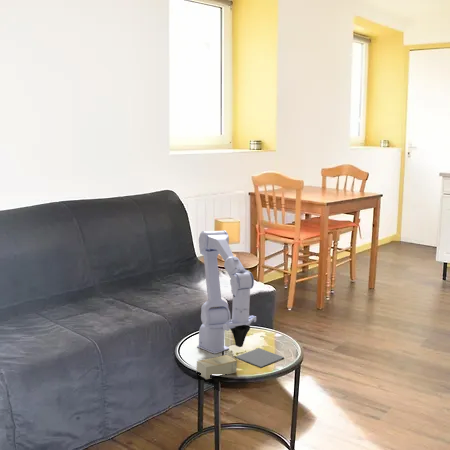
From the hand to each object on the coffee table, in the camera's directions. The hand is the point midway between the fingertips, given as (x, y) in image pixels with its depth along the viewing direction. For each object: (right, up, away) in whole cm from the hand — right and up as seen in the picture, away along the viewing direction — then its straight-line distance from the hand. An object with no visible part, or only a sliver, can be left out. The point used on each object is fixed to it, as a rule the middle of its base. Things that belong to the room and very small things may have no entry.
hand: (239, 346), depth 195 cm
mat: (+8, -7, +11) cm, 15 cm away
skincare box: (-2, -6, 0) cm, 6 cm away
